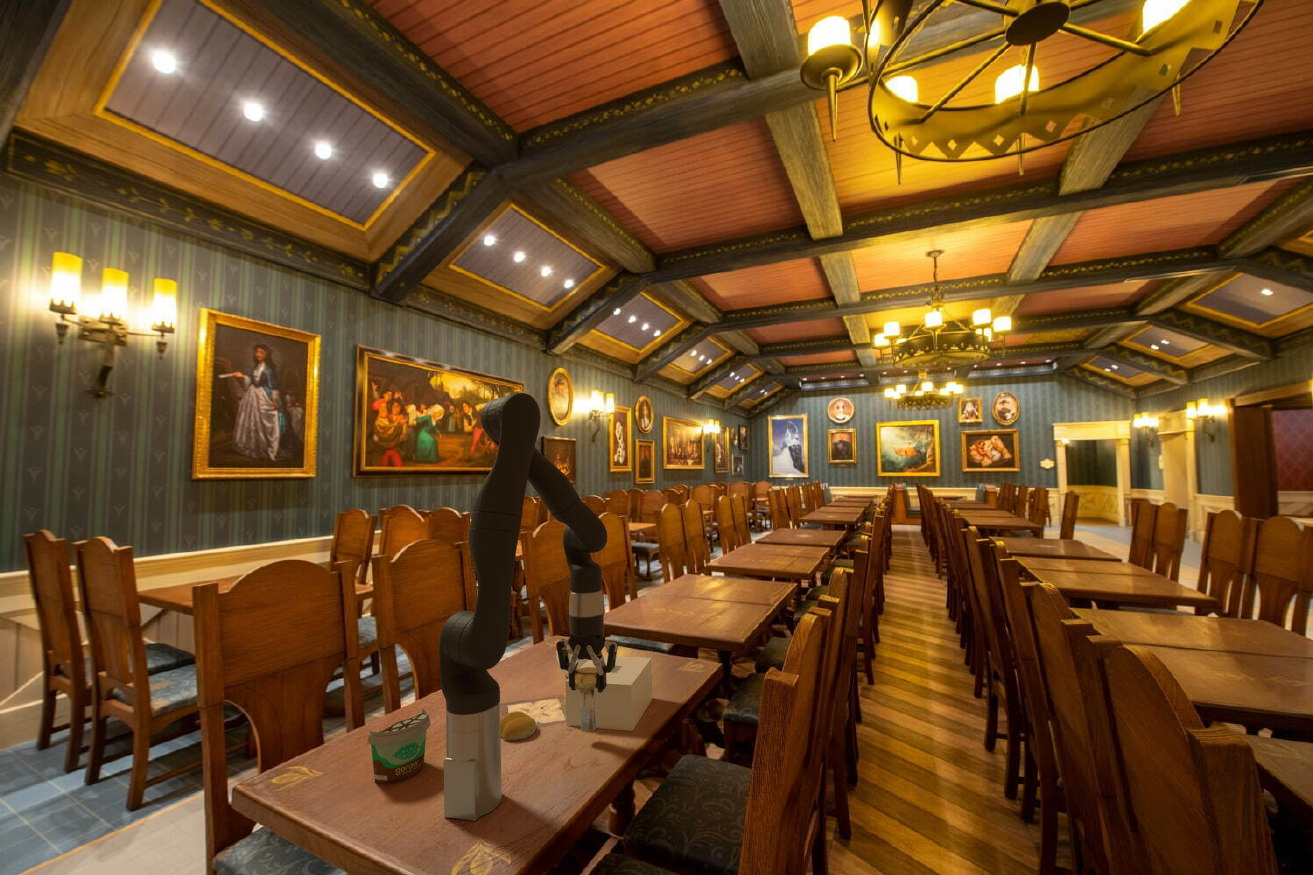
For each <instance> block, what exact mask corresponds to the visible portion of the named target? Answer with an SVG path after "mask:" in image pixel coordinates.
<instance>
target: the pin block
mask: <svg viewBox="0 0 1313 875" xmlns="http://www.w3.org/2000/svg"><path fill="white" fill-rule="evenodd" d="M603 656H604V662H605V664H606V665H607V659H608V655H603ZM652 659H653V658H651V657H634V656H619V655H618V656H616V662H615V668H614V669H613V670H612V671H611V672H610V673H606V684H607V685H606V688H605V689H604V690H603V691H602V693H598V688H596V689H595V712H596V729H603V730H604V729H605V730H616V731H617V730H619V731H629V732H630V731H631V732H633V731H634V730H635V728H636V726H637V725H638V723H639V721H640V720H641V718H642V717H643V715H644V713H645V712H646V710H647V709H648V706H650V704H651V702H652V700H653V699H654V695H653V694H654V692H653V691H654V690H653V667H652V666H653V662H652ZM584 667H595V668H596V666H594V664H593V662H592V660H588V661H587V662H585V663H584V664H583V665H582V666H581V667H580V668H584ZM580 668H579V669H580ZM565 709H566V710H565V715H566V719H565V720H566V721H565V722H566V726H569V727H570V726H571V727H580V728H581V702H580V690H578V689H576V690H575V691H573V690H571V688H570V687H569V678H568V677H567V679H566V680H565Z"/></svg>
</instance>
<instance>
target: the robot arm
mask: <svg viewBox="0 0 1313 875" xmlns="http://www.w3.org/2000/svg"><path fill="white" fill-rule="evenodd" d="M480 423H481V426H482V428H483V429H482V430H484V432H485V433H486V435H487V436H488V437H489V438H490V440H491V441H492V442H493V443H494V444H495V445H496V446H497V447H498V448H497V453H496V457H495V460H494V463H493V466H492V467H491V469H490V471H489V473H488V474H487V477H486V479H485V480H484V481H483V484H482V486H481V487H480V489H479V491H478V493H477V495H476V498H475V500H474V504H473V508H472V512H471V517H470V518H471V519H470V523H469V530H468V545H469V551H470V556H471V559H472V562H473V566H474V569H475V573H476V578H477V597H476V602H475V609H474V611H470V610H462V611H458V612H456V613H454V614H452V615H451V616H450V617H449V618H448V619H447V620H446V621H445V622H444V624H443V626H442V629H441V633H440V637H439V643H438V644H439V645H438V657H439V658H438V660H439V678H440V687H441V688H440V689H441V692H442V695H443V697H444V699H445V708H446V709H445V714H446V718H445V720H446V722H445V724H446V726H445V727H446V731H445V732H446V733H445V735H446V736H445V738H446V740H445V741H446V757H445V759H443V814H444V815H443V816H444V817H445V818H449V819H450V818H452V819H458V820H459V819H460V820H467V821H473V822H474V821H475V822H476V821H477V820H478V819H479V818H481V817H482V816H485V815H487V814H489V813H490V812H492V811H493V810H495V809H497V807H498V806H500V804H501V802H502V798H503V795H502V794H503V792H502V791H503V790H502V788H503V787H502V784H503V783H502V746H501V745H502V741H501V738H502V737H501V728H500V720H501V687H500V684H499V682H498V681H497V680H496V679H495V678H494V677H493V676H492V675H491V674H490V672H489V671H488V670H490V669H492V668H494V667H495V666H497V665H498V664H499V663H500V662H501V660H502V659H503V657H504V655H505V653H506V650H507V647H508V643H509V638H510V628H511V627H510V625H511V606H512V592H513V590H512V589H513V580H514V573H515V564H516V555H517V551H518V550H517V549H518V543H519V538H520V531H521V526H522V519H523V510H524V503H525V496H526V490H527V486H528V482H529V484H530V485H531V486H532V488H533V489H534V490H535V492H536V493H537V494H538V496H539V498H540V499H541V500H542V502H543V504H544V505H545V507H546V508H547V509H548V511H549V513H550V514H551V515H552V518H554V520H556V521H557V522H559V523H561V524H564V525H566V526H565V528H564V531H563V533H562V534H563V535H562V545H563V551H564V554H565V560H566V563H567V566H568V569H569V570H568V571H569V600H568V601H569V602H568V606H569V607H568V610H569V613H568V614H569V616H568V617H569V618H568V619H569V622H568V624H569V637H570V638H569V640H565V639H564V638H562V640H561V639H559V640H560V641H559V640H558V641H559V642H558V641H556V643H557V644H556V643H555V644H556V646H557V652H558V658H559V663H560V668H561V669H562V670H567V671H568V673H569V687H570V688H571V690H573V691H575V690H576V688H575V677H574V672H575V671H576V669H577V667H578V664H579V661H580V660H583V659H588V660H592V662H593V664H594V666H596V669H597V671H598V675H597V681H598V693H602V691H603V690H604V689H605V688H606V685H607V684H606V673H610V672H611V671H612V670H613V669H614V668H615V662H616V656H617V654H618V648H619V643H618V642H617V641H613V642H612V641H608V640H606V638H605V626H604V625H605V622H604V621H605V618H604V617H605V616H604V614H605V613H604V612H605V611H604V610H605V604H604V595H603V578H602V577H603V576H602V574H603V573H602V567H601V565H600V564H598V563H597V562H595V561H594V560H593V558H592V555H591V554H592V553H593V554H594V553H599V552H600V551H602V550H603V549H605V547H606V545H607V543H608V538H609V537H608V531H607V530H608V529H607V528H606V526H605V524H604V523H603V521H602V520H601V519H600V517H599V516H598V515H597V514H596V513H595V512H594V511H593V510H592V509H591V508H590V507H589V506H588V505H587V504H586V503H584V501H583V500H582V499H581V497H580V495H579V494H578V492H577V491H576V489H575V488H574V486H573V484H572V483H571V481H570V479H569V478H568V477H567V476H566V475H565V474H564V473H563V472H562V470H561V469H560V468H558V467H557V466H556V465H555V464H553V462H551V461H550V460H548V459H547V457H546V456H544V455H543V453H541V452H540V451H539V450H538V449H537V448H536V442H537V439H538V436H539V432H540V426H541V410H540V407H539V404H538V402H537V400H536V399H535V398H534V397H533V396H532V395H531V394H529V393H525V392H515V393H510V394H508V395H503V396H501V397H498V398H493V399H491V400H489V401H487V402H486V403H485V404H484V406H483V407H482V410H481V413H480ZM568 646H570V648H571V649H572V651H573V652H574V653H573V656H572V658H571V661H570V662H569V657H568V651H567V649H568ZM604 648H605V651H606V653H607V656H608V659H607V665H606V664H605V662H604V656H605V655H604V654H603V649H604ZM560 668H559V669H560Z"/></svg>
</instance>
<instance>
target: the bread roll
mask: <svg viewBox="0 0 1313 875" xmlns="http://www.w3.org/2000/svg"><path fill="white" fill-rule="evenodd" d="M536 727H537V722H536V720H535V719H534V718H533V717H530V716H529V715H528V714H527V713H525V712H523V711H517V710H516V711H511V712H508V713H506V714H505V715H504V716H503V717H501V718H500V728H501V738H503V739H504V740H505V741H508V742H509V741H511V742H513V741H514V742H515V741H521V740H524V739H525V740H526V739H527V738H529V737H531V735H533V734H534V732H535V731H536V729H537V728H536Z"/></svg>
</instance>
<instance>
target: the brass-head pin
mask: <svg viewBox="0 0 1313 875" xmlns="http://www.w3.org/2000/svg"><path fill="white" fill-rule="evenodd" d="M597 675H598V671H597V669H596V668H595V667H584V668H580V669H577V670H576V671H575V672H574V677H575V688H576V689H578V690H580V702H581V727H580V730H581V731H582V732H584V733H589V732H594V731H595V730H596V729H597V728H596V712H595V689H596V688H598V681H597Z"/></svg>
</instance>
